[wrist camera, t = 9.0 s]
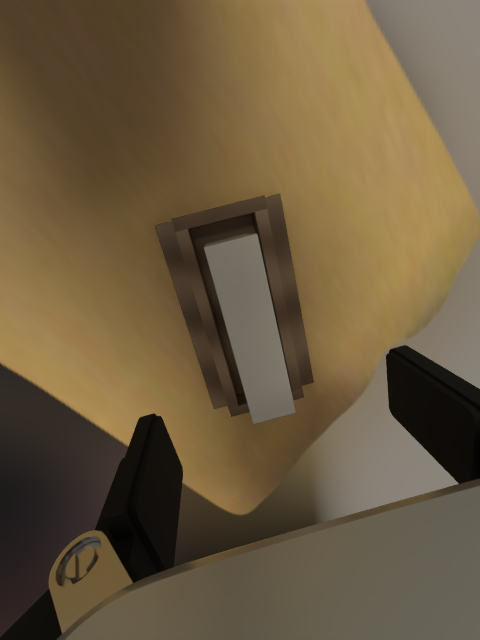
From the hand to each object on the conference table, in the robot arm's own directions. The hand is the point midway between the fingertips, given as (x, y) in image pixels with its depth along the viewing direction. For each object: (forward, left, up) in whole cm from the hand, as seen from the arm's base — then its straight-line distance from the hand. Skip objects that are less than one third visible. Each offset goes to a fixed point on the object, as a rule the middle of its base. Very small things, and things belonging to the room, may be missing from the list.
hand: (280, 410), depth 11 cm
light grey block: (0, 0, -16) cm, 16 cm away
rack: (+1, 0, -17) cm, 17 cm away
